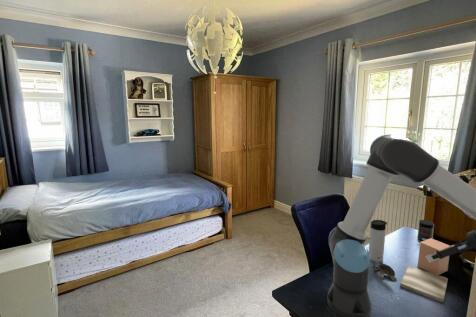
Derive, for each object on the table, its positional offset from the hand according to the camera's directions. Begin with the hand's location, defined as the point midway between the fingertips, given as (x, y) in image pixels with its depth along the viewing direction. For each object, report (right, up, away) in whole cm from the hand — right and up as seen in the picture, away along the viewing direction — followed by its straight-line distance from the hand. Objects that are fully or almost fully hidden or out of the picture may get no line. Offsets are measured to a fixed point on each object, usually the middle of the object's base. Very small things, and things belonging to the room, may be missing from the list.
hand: (436, 255), depth 117 cm
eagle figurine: (-25, -8, -3) cm, 27 cm away
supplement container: (+14, -2, +27) cm, 30 cm away
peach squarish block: (-1, -7, +2) cm, 7 cm away
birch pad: (-12, -9, -8) cm, 17 cm away
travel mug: (-22, -6, +9) cm, 25 cm away
